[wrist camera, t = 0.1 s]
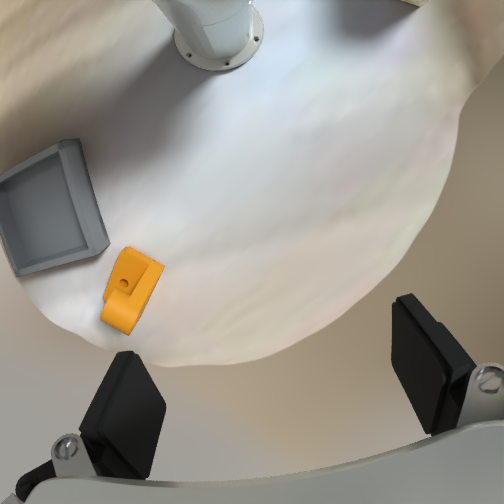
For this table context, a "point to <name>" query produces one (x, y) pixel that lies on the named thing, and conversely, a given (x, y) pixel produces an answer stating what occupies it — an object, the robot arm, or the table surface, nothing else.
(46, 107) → the table surface
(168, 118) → the table surface
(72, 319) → the table surface
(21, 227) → the tray
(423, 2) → the coffeecake box
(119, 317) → the bracket
